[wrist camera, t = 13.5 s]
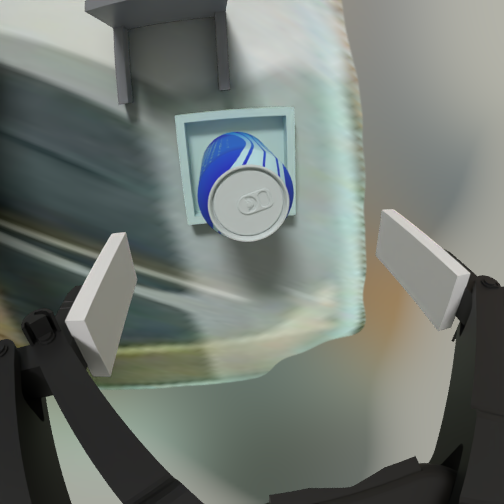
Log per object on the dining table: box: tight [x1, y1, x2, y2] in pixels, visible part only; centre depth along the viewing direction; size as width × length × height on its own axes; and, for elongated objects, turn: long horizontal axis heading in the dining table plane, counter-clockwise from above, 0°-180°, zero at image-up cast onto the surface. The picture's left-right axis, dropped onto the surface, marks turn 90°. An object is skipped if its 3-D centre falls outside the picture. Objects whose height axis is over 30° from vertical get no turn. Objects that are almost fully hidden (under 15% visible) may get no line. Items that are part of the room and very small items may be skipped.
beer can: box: [197, 132, 294, 242], centre depth 32 cm, size 8×8×16 cm
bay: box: [85, 0, 230, 105], centre depth 27 cm, size 13×11×12 cm
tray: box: [175, 106, 296, 225], centre depth 39 cm, size 14×14×2 cm
